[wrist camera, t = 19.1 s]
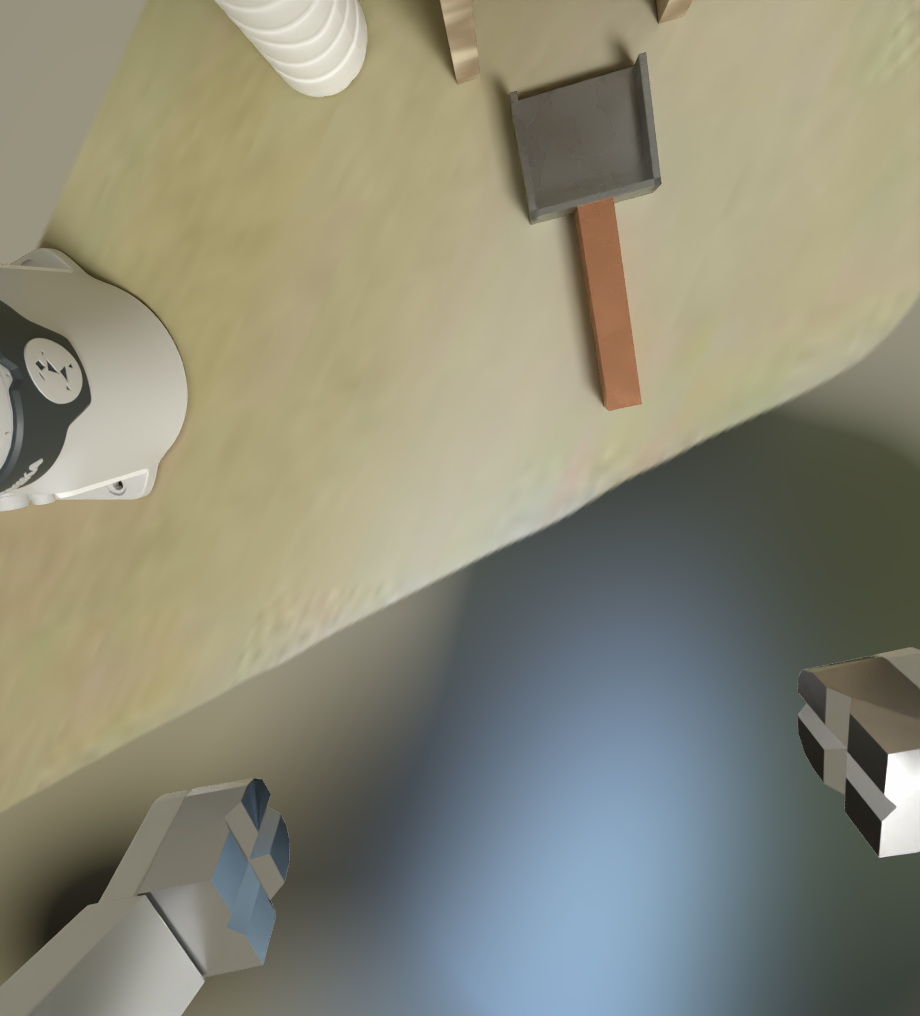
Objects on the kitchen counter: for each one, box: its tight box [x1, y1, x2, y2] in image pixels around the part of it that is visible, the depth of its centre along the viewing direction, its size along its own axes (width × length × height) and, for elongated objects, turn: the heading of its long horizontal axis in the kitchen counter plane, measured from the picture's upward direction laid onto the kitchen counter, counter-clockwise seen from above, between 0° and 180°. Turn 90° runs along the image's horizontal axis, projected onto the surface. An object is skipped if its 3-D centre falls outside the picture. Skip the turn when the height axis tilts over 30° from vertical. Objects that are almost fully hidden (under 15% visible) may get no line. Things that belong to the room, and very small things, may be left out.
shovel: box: [510, 52, 661, 411], centre depth 37 cm, size 8×20×2 cm, turn 13°
